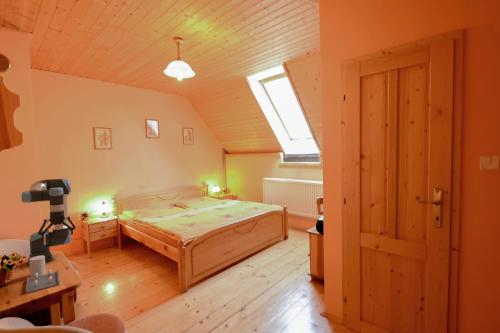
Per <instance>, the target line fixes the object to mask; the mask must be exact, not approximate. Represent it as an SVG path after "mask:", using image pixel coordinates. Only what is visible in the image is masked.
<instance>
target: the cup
mask: <svg viewBox="0 0 500 333" xmlns="http://www.w3.org/2000/svg"><path fill="white" fill-rule="evenodd" d="M28 259H29V258H28ZM29 262H30V265H29V278H33V277H35V273H38V276H42V275H46V263H45V256H36V257H32V258H30V259H29Z"/></svg>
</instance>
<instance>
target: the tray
mask: <svg viewBox="0 0 500 333" xmlns="http://www.w3.org/2000/svg"><path fill="white" fill-rule="evenodd" d="M57 286H60V275H59V269H57V270H56V271H55V272H52V269H49V270H48V273H45V274H44V275H42V276H38V273H35V277H33V278H31V277H30V276H27V278H26V285H25V290H24V291H25V294H26V295H27V294H31V293H34V292H38V291H43V290H46V289H49V288H53V287H57Z"/></svg>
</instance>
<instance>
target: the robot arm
mask: <svg viewBox="0 0 500 333" xmlns="http://www.w3.org/2000/svg"><path fill="white" fill-rule="evenodd" d="M71 189H72V188H71V183H70V180H69V179H68V178H53V179H51V178H50V179H41V180H39V181H36V182H34V183H33V184H31V186H30V189H29V190H27V191H22V192H21V195H20V196H21V197H20V198H21V202H22V203H24V204H25V203H27V204H28V203H36V202H37V203H38V202H48V201H49V219H48V218H47V219H46V218H44V219H43V223H42V225H41V227H40V229H39V230H38V231H37V232H36V231H35V233H34V232H33V233H31V235H30V236H29V249H30V250H29V252H30V253H29V257H28V258H27V265H28V266H30V262H29V259H30V258H32V257H36V256H45V264H46V263H49V262H51V261H53V259H54V258H53V254H52V252H51V250H50V249H51V247H56V246H62V245H64V246H65V245H66V244H67V245H68V244H70V243H71V242H72V237H73V236H72V235H74V230H76V229H77V227H76V225H75V223H73V221H72V220H71V217H70V216H69V215H68V214H69V213H68V196H70V193H71V192H72V190H71ZM49 222H50V223H49ZM47 223H49V225H48V226H46V224H47ZM69 223H70V225H71V226H72V227H71V226H70V225H69ZM53 225H54V227H53V228H52V230H51V231H50V230H49V229H50V228H51V227H52V226H53ZM45 226H46V227H45ZM44 228H45V229H44ZM43 229H44V230H43Z"/></svg>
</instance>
